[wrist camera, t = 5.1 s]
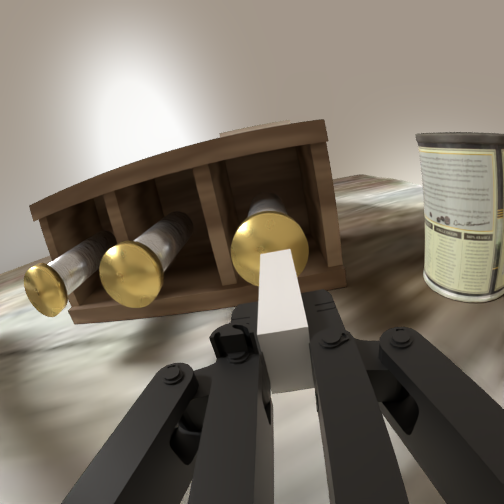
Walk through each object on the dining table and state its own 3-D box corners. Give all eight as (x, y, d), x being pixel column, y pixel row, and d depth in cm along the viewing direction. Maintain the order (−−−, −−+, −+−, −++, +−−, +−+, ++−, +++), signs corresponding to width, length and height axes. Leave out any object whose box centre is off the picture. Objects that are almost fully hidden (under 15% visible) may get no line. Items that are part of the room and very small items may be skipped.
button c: (68, 315, 20) (46, 264, 19) (37, 318, 21) (17, 272, 19) (127, 258, 33) (115, 221, 31) (98, 264, 33) (86, 230, 31)
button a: (313, 280, 18) (302, 208, 17) (240, 293, 19) (222, 223, 17) (293, 226, 31) (285, 182, 29) (249, 234, 31) (239, 191, 29)
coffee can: (429, 252, 29) (422, 132, 25) (505, 260, 22) (506, 134, 18) (412, 296, 23) (405, 133, 18) (512, 310, 16) (526, 136, 11)
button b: (168, 304, 19) (145, 239, 18) (113, 310, 20) (90, 253, 18) (203, 243, 32) (192, 201, 30) (164, 250, 32) (152, 211, 30)
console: (346, 286, 27) (322, 110, 22) (74, 324, 31) (27, 199, 25) (320, 241, 40) (300, 123, 35) (117, 278, 44) (86, 181, 38)
